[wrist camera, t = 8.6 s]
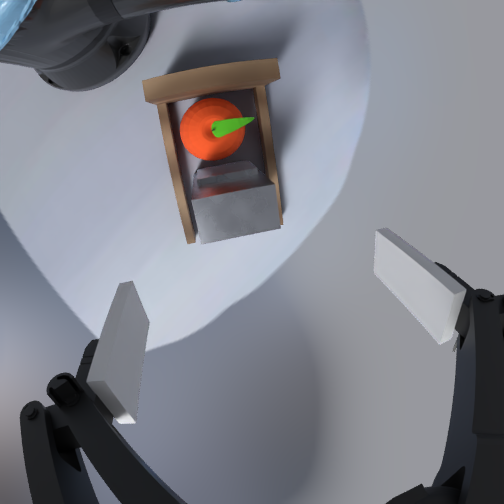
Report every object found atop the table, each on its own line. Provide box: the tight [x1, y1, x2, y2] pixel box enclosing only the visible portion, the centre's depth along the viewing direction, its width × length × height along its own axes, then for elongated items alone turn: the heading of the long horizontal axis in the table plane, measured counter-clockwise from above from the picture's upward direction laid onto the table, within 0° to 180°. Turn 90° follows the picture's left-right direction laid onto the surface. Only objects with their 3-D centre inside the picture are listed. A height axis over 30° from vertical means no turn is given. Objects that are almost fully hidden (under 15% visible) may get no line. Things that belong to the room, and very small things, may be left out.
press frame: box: [142, 58, 283, 244], centre depth 30 cm, size 19×12×9 cm, turn 9°
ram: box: [191, 160, 281, 244], centre depth 30 cm, size 5×7×12 cm, turn 99°
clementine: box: [180, 98, 255, 161], centre depth 30 cm, size 8×7×7 cm
